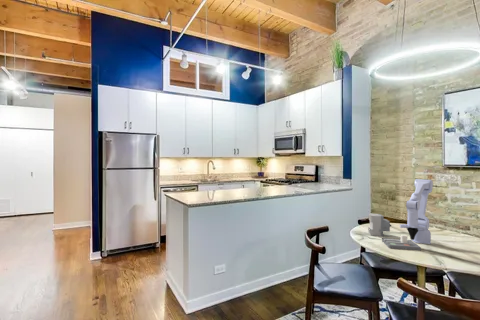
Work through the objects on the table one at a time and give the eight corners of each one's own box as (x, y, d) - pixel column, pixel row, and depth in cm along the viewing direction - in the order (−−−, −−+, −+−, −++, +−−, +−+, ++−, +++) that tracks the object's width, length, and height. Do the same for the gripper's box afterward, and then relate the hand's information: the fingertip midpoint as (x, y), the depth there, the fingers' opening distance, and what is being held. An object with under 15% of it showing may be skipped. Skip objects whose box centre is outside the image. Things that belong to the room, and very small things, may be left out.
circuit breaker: (392, 236, 188) (392, 216, 188) (371, 235, 191) (371, 215, 191) (388, 233, 196) (388, 214, 195) (368, 232, 198) (368, 213, 198)
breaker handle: (405, 241, 170) (405, 234, 170) (407, 243, 167) (407, 236, 167) (400, 241, 171) (400, 234, 171) (402, 242, 168) (402, 236, 168)
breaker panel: (410, 243, 175) (410, 239, 175) (420, 250, 161) (420, 246, 161) (382, 241, 178) (382, 237, 178) (389, 248, 165) (389, 243, 165)
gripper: (402, 219, 166) (402, 240, 166) (428, 220, 163) (427, 242, 163) (398, 217, 172) (398, 237, 173) (422, 218, 169) (422, 238, 170)
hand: (412, 239), depth 168 cm, fingers closed
